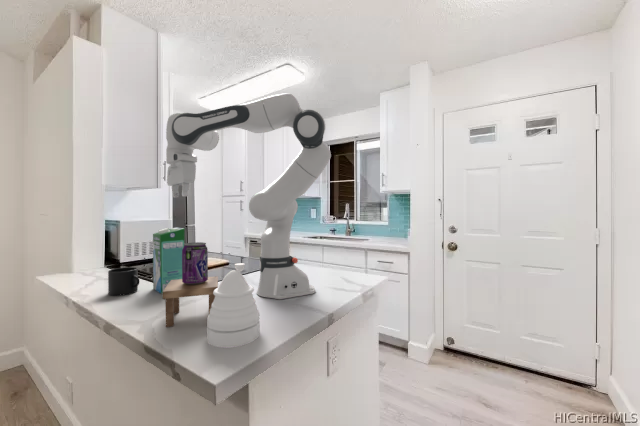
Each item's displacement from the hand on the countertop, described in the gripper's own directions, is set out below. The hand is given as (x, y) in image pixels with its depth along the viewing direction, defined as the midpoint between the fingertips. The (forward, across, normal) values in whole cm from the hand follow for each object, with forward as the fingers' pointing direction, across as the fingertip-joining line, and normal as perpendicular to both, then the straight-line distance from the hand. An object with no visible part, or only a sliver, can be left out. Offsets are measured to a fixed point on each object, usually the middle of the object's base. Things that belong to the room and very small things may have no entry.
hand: (180, 196), depth 104 cm
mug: (+37, -21, -14) cm, 45 cm away
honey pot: (+37, +43, -1) cm, 57 cm away
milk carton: (+37, -15, 0) cm, 40 cm away
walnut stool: (+37, +22, -3) cm, 44 cm away
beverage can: (+27, +23, -3) cm, 36 cm away
